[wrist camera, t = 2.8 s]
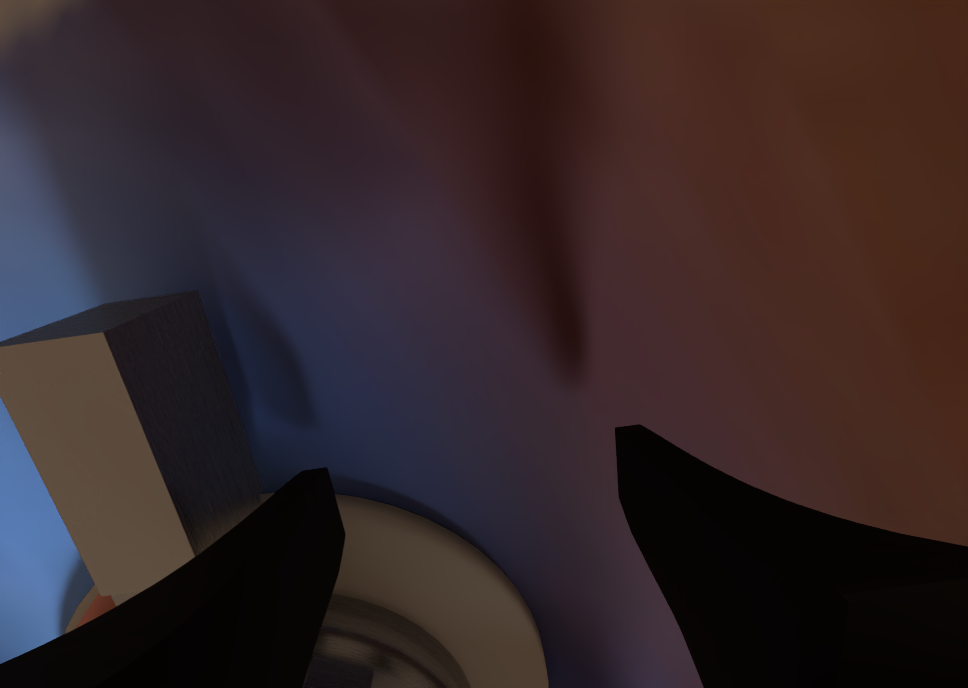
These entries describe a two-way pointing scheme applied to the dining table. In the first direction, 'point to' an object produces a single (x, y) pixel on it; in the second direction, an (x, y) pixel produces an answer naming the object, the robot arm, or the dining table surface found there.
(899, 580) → the robot arm
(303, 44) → the dining table surface
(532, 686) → the flange plate
